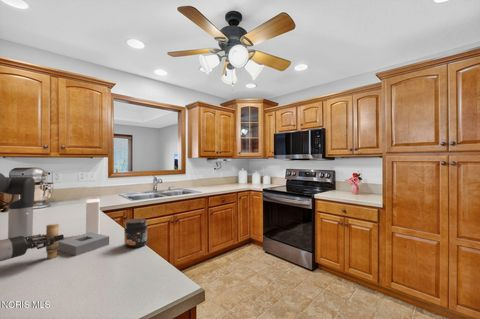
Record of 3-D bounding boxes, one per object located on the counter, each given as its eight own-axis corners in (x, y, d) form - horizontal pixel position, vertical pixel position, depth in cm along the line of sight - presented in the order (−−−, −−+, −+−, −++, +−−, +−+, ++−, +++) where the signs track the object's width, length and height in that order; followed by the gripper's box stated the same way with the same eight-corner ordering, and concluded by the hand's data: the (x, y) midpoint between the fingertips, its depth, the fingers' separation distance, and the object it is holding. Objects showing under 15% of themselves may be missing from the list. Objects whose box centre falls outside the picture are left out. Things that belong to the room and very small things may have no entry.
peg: (43, 258, 95) (44, 225, 95) (55, 254, 99) (55, 223, 99) (48, 260, 93) (49, 226, 93) (60, 256, 97) (60, 224, 97)
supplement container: (118, 247, 108) (119, 222, 108) (136, 240, 118) (136, 217, 118) (135, 250, 104) (135, 224, 104) (152, 242, 114) (152, 219, 114)
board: (57, 249, 104) (57, 241, 104) (90, 239, 118) (90, 232, 118) (76, 255, 98) (76, 246, 98) (109, 244, 111) (109, 236, 111)
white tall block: (98, 235, 125) (99, 196, 125) (85, 237, 122) (86, 197, 122) (99, 232, 130) (99, 194, 130) (86, 234, 127) (87, 195, 127)
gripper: (15, 242, 80) (68, 229, 95) (-2, 236, 86) (50, 225, 102) (15, 263, 80) (68, 247, 95) (-2, 255, 86) (50, 241, 101)
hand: (59, 235), depth 98 cm, fingers open, 5 cm apart
